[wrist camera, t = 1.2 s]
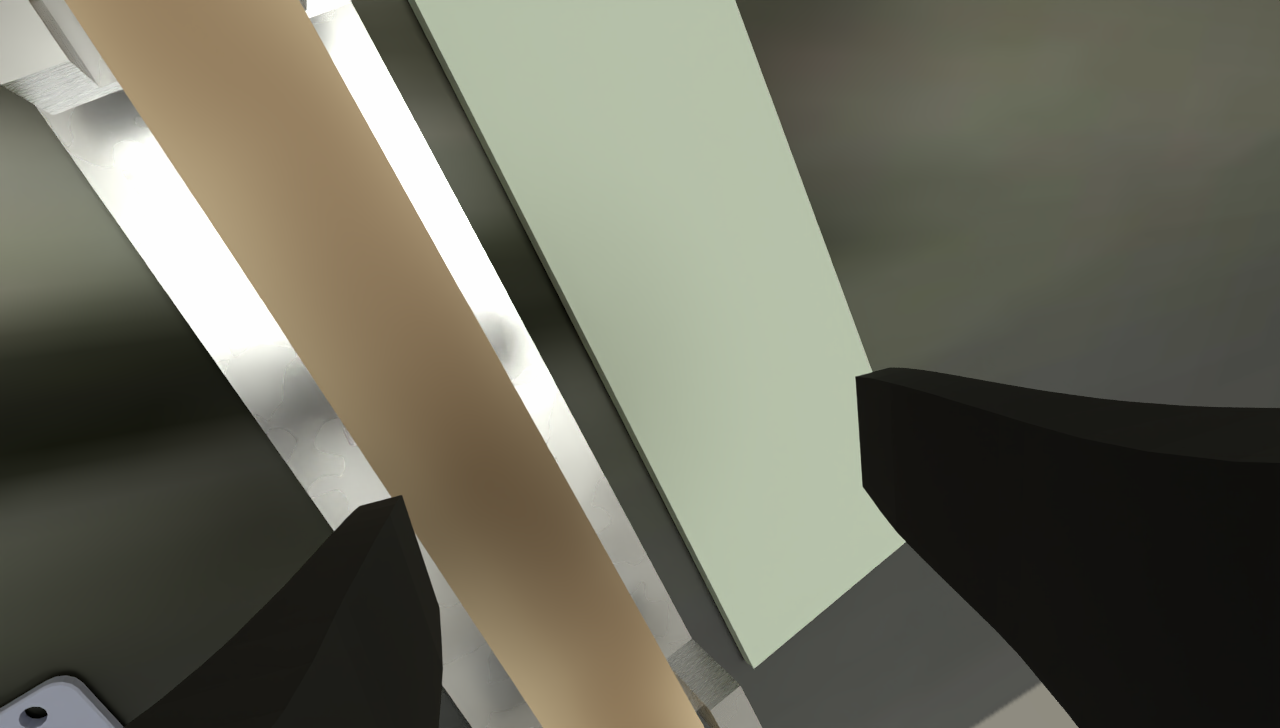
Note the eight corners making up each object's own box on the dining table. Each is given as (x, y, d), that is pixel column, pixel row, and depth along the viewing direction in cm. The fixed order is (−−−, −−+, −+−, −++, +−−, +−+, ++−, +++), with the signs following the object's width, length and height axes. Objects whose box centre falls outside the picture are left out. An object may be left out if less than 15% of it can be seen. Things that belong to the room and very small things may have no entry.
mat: (744, 660, 26) (753, 668, 26) (312, -187, 17) (312, -201, 17) (916, 518, 29) (927, 522, 28) (619, -276, 20) (627, -290, 20)
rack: (509, 773, 23) (570, 925, 18) (2, 48, 16) (-149, -60, 10) (684, 635, 25) (785, 734, 20) (311, -58, 18) (315, -192, 12)
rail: (614, 823, 20) (663, 910, 17) (25, -81, 13) (-51, -174, 10) (699, 751, 21) (757, 823, 18) (197, -133, 13) (171, -231, 11)
